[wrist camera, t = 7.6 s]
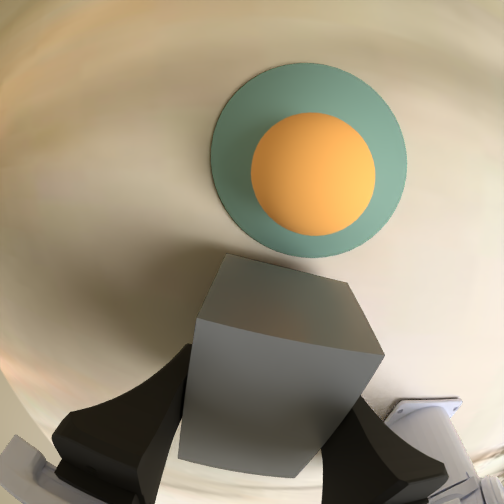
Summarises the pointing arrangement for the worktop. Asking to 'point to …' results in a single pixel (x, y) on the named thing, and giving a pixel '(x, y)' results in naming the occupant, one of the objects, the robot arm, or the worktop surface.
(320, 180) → the ball
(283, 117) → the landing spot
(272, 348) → the grey squared block
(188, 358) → the robot arm
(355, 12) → the worktop surface
